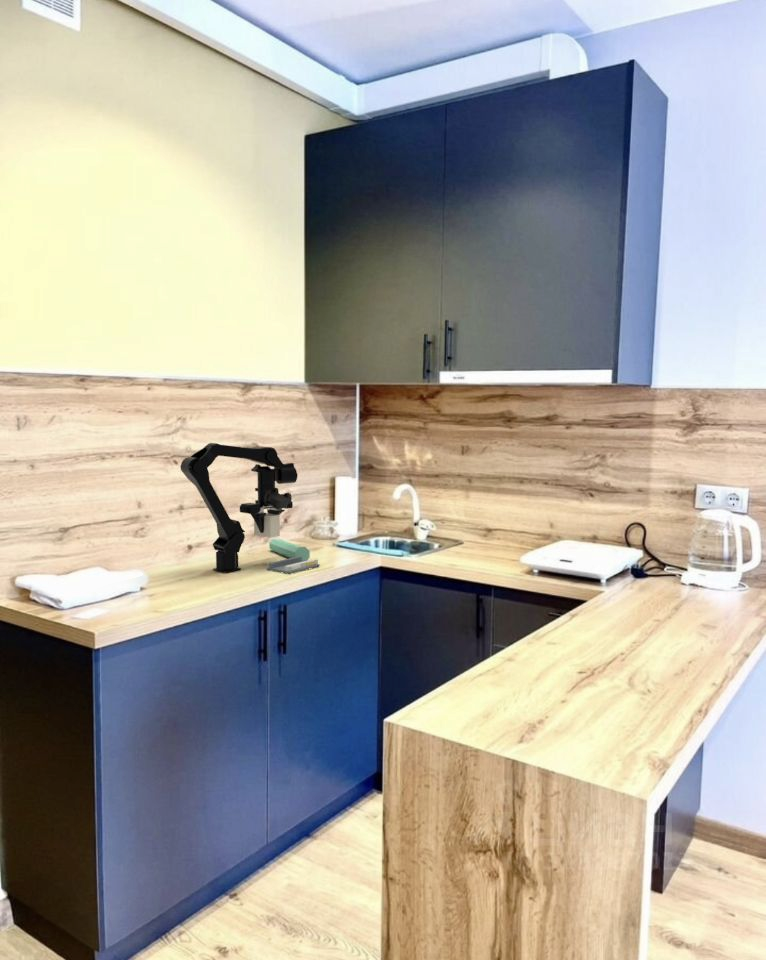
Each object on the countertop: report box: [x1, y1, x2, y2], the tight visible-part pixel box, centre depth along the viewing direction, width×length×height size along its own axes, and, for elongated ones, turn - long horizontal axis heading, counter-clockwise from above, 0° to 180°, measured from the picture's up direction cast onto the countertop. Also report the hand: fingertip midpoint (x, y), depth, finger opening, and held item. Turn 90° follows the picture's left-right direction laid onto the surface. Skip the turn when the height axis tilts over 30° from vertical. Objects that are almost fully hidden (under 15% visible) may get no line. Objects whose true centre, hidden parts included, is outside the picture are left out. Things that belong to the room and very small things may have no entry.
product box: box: [253, 512, 281, 539], centre depth 249 cm, size 4×8×7 cm, turn 51°
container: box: [268, 538, 311, 561], centre depth 264 cm, size 6×6×25 cm
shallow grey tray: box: [266, 556, 321, 575], centre depth 244 cm, size 14×10×2 cm
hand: (267, 531), depth 249 cm, fingers closed on product box, 4 cm apart
